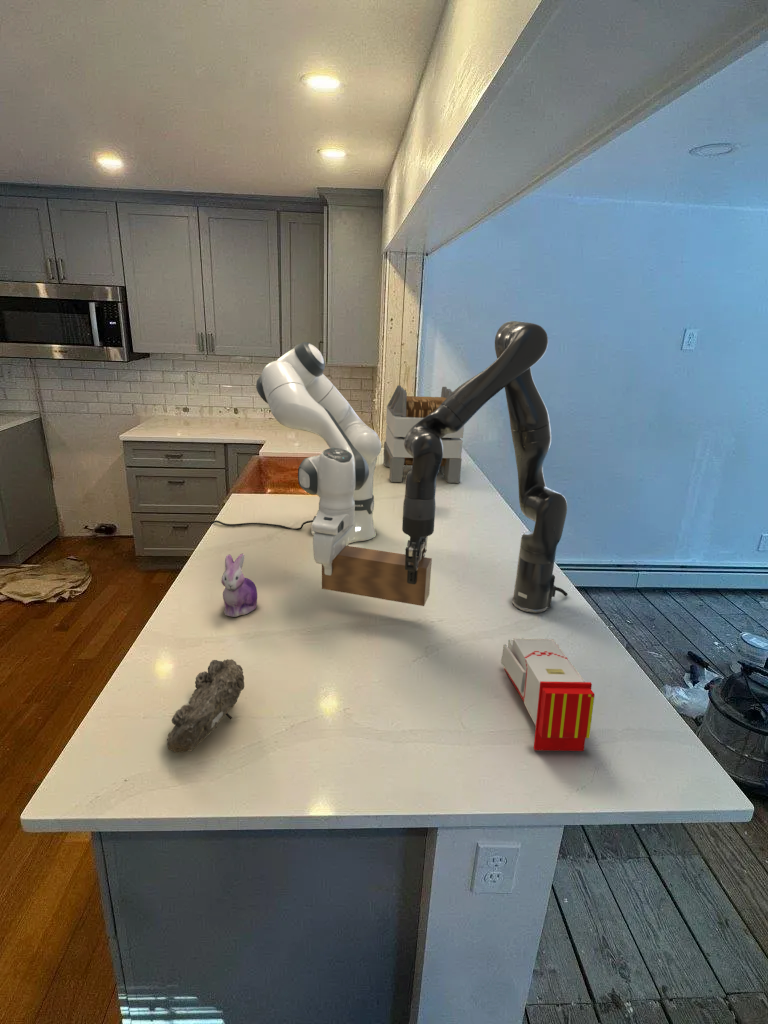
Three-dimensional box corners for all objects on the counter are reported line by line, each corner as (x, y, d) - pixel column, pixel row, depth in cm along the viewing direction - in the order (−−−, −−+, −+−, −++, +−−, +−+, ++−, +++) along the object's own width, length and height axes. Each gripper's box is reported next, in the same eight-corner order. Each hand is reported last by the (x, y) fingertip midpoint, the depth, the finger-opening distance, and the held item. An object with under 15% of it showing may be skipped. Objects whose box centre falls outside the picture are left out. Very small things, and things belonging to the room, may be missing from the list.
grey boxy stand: (382, 463, 289) (386, 382, 275) (445, 464, 293) (451, 384, 279) (390, 482, 257) (394, 392, 243) (460, 483, 261) (468, 394, 247)
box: (321, 588, 144) (321, 552, 140) (330, 578, 150) (330, 543, 146) (424, 606, 137) (426, 568, 134) (429, 594, 143) (431, 558, 140)
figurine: (226, 621, 140) (223, 566, 135) (217, 603, 148) (214, 550, 143) (264, 614, 144) (262, 560, 139) (253, 596, 153) (251, 545, 148)
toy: (549, 621, 128) (604, 690, 99) (544, 676, 131) (595, 758, 101) (496, 620, 128) (535, 688, 98) (492, 675, 130) (528, 757, 101)
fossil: (192, 660, 117) (244, 628, 112) (224, 691, 120) (276, 661, 115) (142, 746, 98) (202, 712, 93) (182, 779, 101) (242, 748, 96)
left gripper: (339, 501, 150) (338, 549, 154) (308, 527, 131) (308, 581, 136) (362, 504, 148) (360, 552, 153) (333, 531, 129) (332, 585, 134)
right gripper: (428, 525, 126) (423, 592, 132) (440, 505, 139) (435, 567, 145) (395, 521, 128) (392, 587, 133) (410, 502, 141) (407, 563, 146)
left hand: (335, 566), depth 144 cm, fingers open, 8 cm apart
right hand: (415, 577), depth 139 cm, fingers closed on box, 6 cm apart
